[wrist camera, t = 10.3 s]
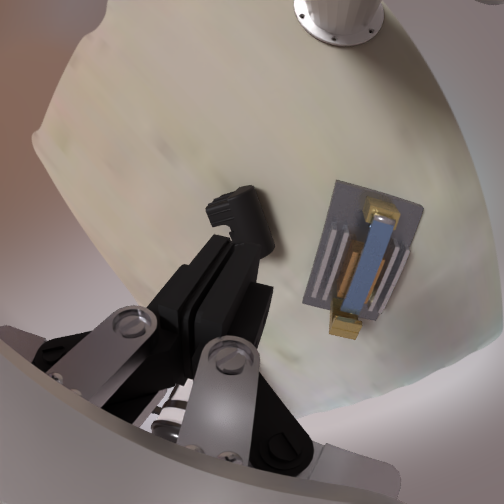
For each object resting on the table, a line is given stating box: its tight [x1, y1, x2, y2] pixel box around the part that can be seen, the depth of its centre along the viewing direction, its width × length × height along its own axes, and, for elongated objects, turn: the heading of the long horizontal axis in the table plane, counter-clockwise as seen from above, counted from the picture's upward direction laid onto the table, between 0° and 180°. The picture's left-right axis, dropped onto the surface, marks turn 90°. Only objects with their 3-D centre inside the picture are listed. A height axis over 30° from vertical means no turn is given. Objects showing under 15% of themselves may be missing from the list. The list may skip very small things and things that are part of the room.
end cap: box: [206, 185, 275, 259], centre depth 44 cm, size 10×7×7 cm
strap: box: [340, 213, 396, 315], centre depth 39 cm, size 16×3×1 cm, turn 172°
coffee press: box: [151, 379, 193, 443], centre depth 51 cm, size 17×16×30 cm
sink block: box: [302, 180, 424, 340], centre depth 41 cm, size 22×14×9 cm, turn 172°
